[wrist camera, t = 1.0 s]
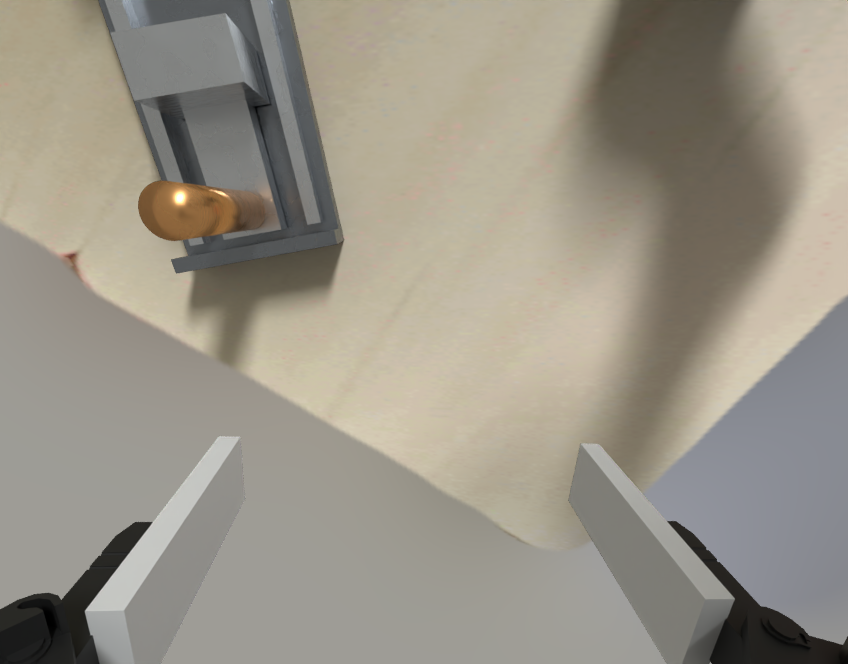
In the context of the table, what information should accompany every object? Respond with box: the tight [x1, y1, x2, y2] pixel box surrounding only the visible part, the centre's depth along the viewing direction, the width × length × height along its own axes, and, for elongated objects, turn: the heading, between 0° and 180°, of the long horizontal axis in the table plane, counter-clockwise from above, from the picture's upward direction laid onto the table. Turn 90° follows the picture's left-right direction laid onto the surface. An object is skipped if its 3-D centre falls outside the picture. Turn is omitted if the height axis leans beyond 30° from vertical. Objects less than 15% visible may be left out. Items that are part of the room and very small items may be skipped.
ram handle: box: [110, 13, 287, 241], centre depth 27 cm, size 14×8×14 cm, turn 10°
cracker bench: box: [98, 0, 344, 273], centre depth 29 cm, size 36×14×9 cm, turn 10°
